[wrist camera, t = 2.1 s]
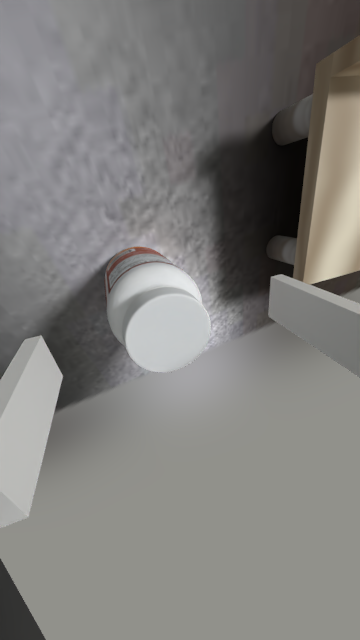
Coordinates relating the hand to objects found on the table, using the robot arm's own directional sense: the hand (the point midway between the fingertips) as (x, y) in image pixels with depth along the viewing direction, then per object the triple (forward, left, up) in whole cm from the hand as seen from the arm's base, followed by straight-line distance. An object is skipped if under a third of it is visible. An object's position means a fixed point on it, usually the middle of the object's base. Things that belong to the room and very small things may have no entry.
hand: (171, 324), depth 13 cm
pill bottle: (0, 0, -10) cm, 10 cm away
